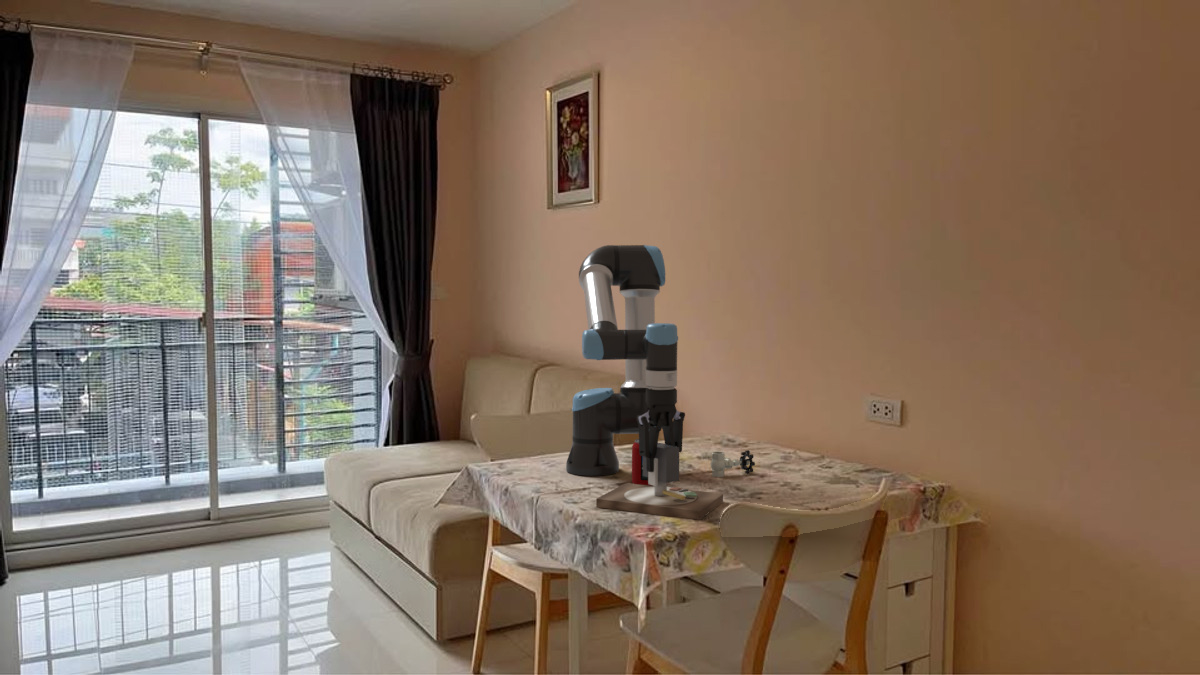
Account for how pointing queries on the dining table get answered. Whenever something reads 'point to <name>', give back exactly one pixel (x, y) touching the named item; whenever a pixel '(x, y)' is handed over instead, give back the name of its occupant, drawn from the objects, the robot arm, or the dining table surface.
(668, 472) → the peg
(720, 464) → the valve
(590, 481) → the dining table surface
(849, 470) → the dining table surface
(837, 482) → the dining table surface
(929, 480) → the dining table surface
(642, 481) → the beverage can
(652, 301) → the robot arm
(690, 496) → the brown wooden board
